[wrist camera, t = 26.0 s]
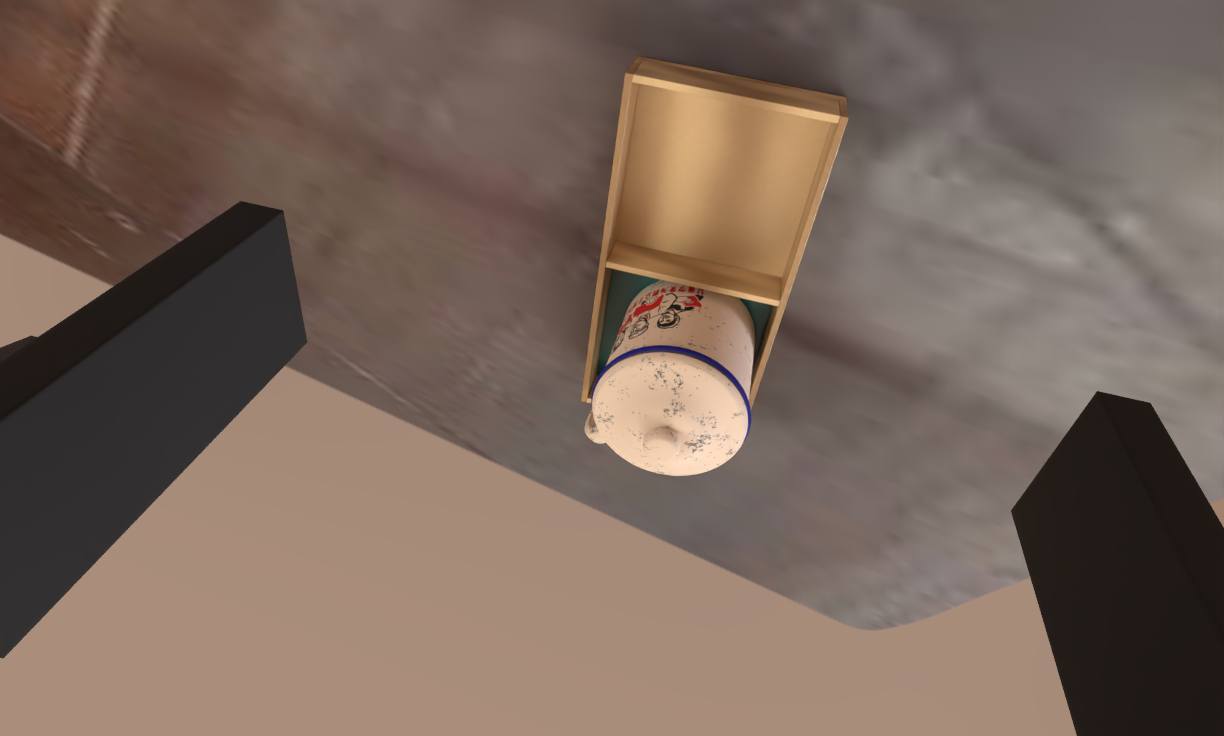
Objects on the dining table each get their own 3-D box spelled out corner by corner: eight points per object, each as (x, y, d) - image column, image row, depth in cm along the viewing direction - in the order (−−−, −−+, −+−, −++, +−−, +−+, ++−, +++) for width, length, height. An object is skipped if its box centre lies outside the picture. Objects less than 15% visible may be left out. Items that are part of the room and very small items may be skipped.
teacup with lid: (701, 243, 43) (672, 354, 34) (787, 347, 46) (782, 474, 37) (564, 335, 50) (509, 449, 41) (648, 421, 53) (614, 545, 44)
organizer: (592, 371, 52) (580, 401, 49) (637, 55, 38) (625, 72, 36) (744, 408, 51) (740, 440, 48) (846, 97, 37) (848, 117, 35)
